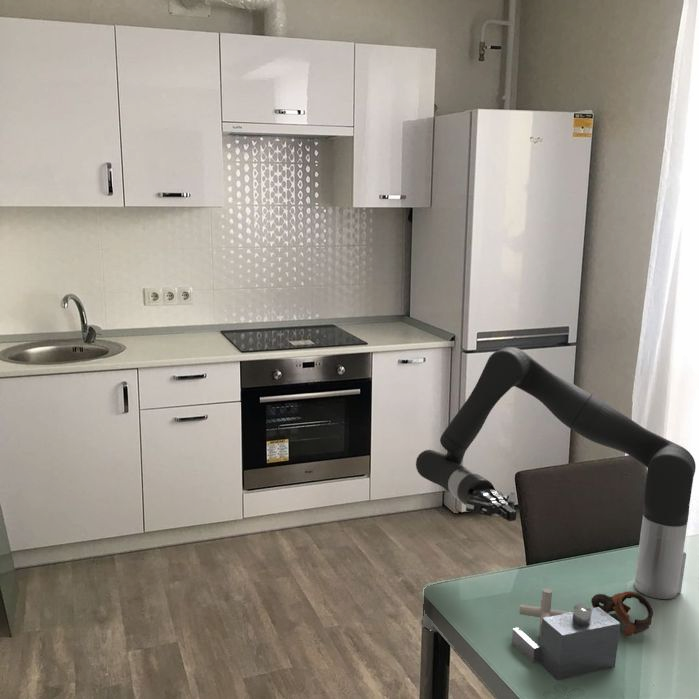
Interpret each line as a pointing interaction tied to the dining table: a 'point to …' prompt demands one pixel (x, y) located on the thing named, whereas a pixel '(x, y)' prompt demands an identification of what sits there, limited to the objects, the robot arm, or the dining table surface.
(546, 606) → the pipe connector
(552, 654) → the grey boxy knob-topped device
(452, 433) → the robot arm
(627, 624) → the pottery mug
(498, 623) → the dining table surface
